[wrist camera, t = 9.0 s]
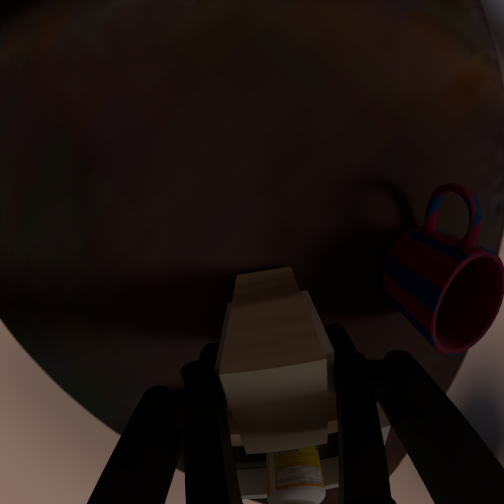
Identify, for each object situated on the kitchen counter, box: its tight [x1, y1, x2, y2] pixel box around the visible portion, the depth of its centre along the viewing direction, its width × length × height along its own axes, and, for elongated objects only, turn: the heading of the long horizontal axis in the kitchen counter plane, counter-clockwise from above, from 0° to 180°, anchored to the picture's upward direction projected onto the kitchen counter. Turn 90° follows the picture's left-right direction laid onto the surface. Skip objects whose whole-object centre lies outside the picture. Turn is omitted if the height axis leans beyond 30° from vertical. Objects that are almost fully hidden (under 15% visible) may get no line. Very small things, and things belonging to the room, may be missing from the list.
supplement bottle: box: [266, 445, 325, 504], centre depth 19 cm, size 5×5×10 cm
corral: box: [236, 402, 390, 499], centre depth 21 cm, size 11×17×4 cm, turn 100°
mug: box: [383, 183, 504, 356], centre depth 14 cm, size 7×10×7 cm
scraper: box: [219, 266, 338, 454], centre depth 14 cm, size 11×12×10 cm
